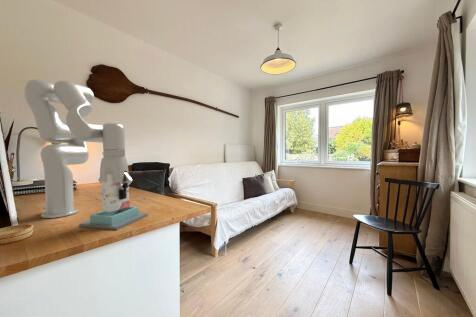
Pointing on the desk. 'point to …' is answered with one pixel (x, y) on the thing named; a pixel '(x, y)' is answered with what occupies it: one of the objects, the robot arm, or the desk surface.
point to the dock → (114, 218)
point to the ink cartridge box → (113, 196)
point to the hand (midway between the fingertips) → (115, 198)
